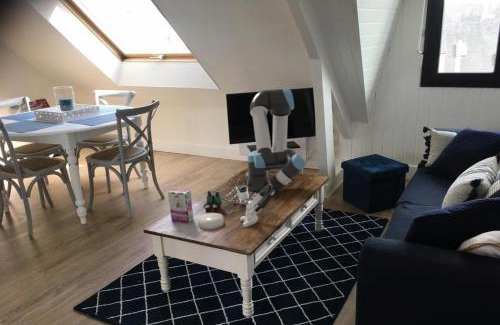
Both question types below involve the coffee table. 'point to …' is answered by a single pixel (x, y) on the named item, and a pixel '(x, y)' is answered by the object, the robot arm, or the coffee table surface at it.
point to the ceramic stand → (210, 221)
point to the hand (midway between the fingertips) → (251, 209)
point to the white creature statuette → (248, 218)
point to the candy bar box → (180, 206)
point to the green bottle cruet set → (213, 202)
